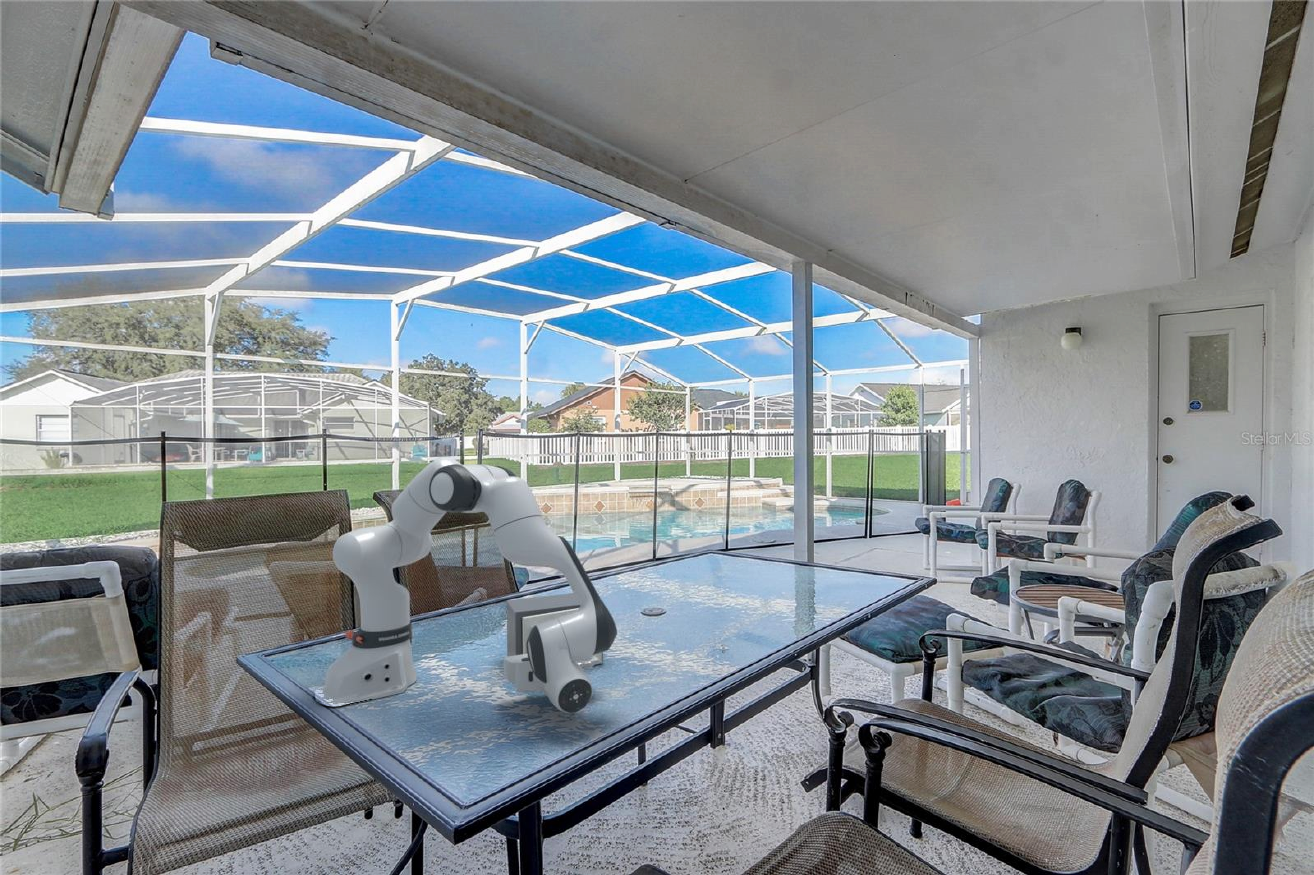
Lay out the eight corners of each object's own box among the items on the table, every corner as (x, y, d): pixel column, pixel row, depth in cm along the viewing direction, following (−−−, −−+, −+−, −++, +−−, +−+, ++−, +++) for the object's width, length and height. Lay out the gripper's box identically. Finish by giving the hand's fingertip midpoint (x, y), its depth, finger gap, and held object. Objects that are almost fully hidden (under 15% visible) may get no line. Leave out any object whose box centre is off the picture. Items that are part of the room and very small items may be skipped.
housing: (516, 676, 148) (515, 612, 149) (507, 659, 161) (506, 600, 162) (599, 663, 157) (598, 602, 157) (585, 647, 170) (584, 591, 170)
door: (533, 688, 139) (532, 624, 140) (523, 678, 145) (522, 617, 146) (614, 669, 151) (613, 610, 151) (601, 661, 157) (600, 604, 157)
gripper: (601, 649, 134) (583, 632, 146) (509, 663, 126) (499, 644, 138) (601, 677, 134) (584, 658, 146) (509, 693, 125) (499, 671, 138)
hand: (542, 651), depth 142 cm, fingers closed
